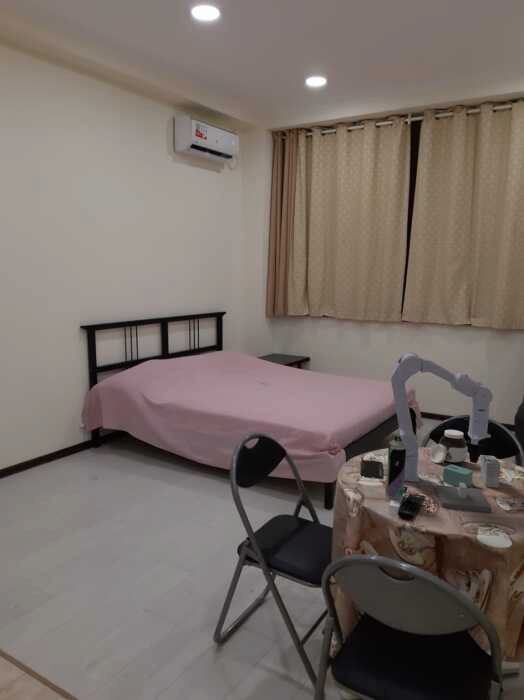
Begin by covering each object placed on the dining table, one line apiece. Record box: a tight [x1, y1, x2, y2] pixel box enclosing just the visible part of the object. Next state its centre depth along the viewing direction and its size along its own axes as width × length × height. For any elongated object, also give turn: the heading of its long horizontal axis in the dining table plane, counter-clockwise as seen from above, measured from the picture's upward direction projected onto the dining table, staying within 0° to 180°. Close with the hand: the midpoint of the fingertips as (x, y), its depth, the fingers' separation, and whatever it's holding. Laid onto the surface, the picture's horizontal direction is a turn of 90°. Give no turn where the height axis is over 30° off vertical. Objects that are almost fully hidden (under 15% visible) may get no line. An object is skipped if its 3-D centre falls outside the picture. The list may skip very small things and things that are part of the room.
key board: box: [435, 483, 492, 513], centre depth 160 cm, size 14×14×5 cm
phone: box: [359, 459, 384, 479], centre depth 185 cm, size 8×1×15 cm
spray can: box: [385, 435, 406, 500], centre depth 162 cm, size 6×6×20 cm
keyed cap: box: [442, 464, 474, 488], centre depth 174 cm, size 5×8×5 cm
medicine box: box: [479, 455, 501, 489], centre depth 174 cm, size 8×4×9 cm, turn 168°
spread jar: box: [429, 429, 468, 466], centre depth 194 cm, size 12×11×12 cm
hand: (475, 459), depth 172 cm, fingers open, 7 cm apart
